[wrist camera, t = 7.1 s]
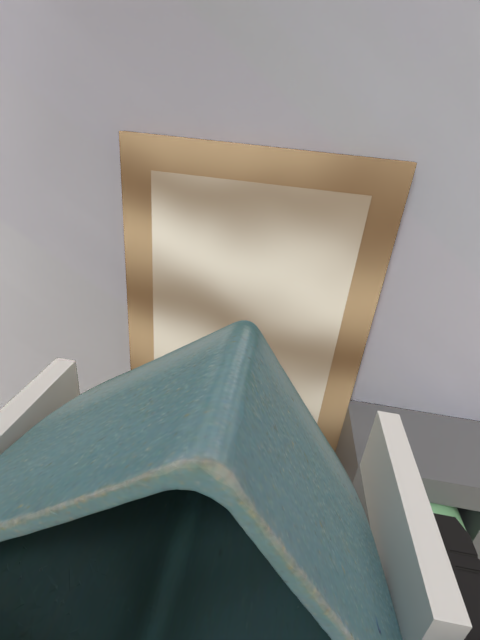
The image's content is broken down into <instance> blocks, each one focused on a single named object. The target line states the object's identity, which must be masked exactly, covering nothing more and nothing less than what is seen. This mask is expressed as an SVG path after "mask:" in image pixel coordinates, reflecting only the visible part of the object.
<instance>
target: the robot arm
mask: <svg viewBox="0 0 480 640" xmlns="http://www.w3.org/2000/svg"><path fill="white" fill-rule="evenodd" d="M79 395H80V392H79V384H78V376H77V368H76V361H74V360H68V359H62V358H56V359H55V360H54V361H53V362H52V363H51V364H50V365H49V366H48V367H46V368H45V369H44V370H43V371H42V372H41V373H40V374H39V375H38V376H37V377H36V378H34V379H33V380H32V381H31V382H30V383H29V384H28V385H27V386H26V387H25V388H24V389H22V390H21V391H20V392H19V393H18V394H17V395H16V396H15V397H14V398H13V399H12V400H10V401H9V402H8V403H7V404H6V405H5V406H4V407H3V408H2V409H1V410H0V455H1V454H2V453H3V452H4V451H5V450H6V449H7V448H9V447H10V446H11V445H12V444H13V443H14V442H16V441H17V440H18V439H19V438H20V437H22V436H23V435H24V434H25V433H26V432H27V431H29V430H30V429H31V428H32V427H33V426H35V425H36V424H37V423H38V422H40V421H41V420H42V419H44V418H45V417H47V416H48V415H49V414H51V413H52V412H54V411H55V410H57V409H58V408H60V407H61V406H63V405H64V404H66V403H67V402H69V401H70V400H72V399H74V398H76V397H77V396H79ZM360 470H361V476H362V481H363V487H364V493H365V499H366V505H367V510H368V516H369V522H370V528H371V531H372V534H373V538H374V541H375V544H376V548H377V551H378V554H379V558H380V561H381V564H382V568H383V571H384V574H385V578H386V581H387V585H388V589H389V592H390V596H391V599H392V603H393V606H394V610H395V613H396V617H397V621H398V624H399V628H400V632H401V636H402V639H403V640H480V559H478V554H477V552H476V549H475V547H474V544H473V542H472V540H471V537H470V535H469V534H468V533H467V531H466V530H465V529H464V527H463V526H462V525H461V524H460V522H459V521H458V520H457V519H456V517H452V516H446V515H441V514H436V513H433V511H432V508H431V505H430V502H429V499H428V497H427V494H426V491H425V488H424V485H423V482H422V479H421V476H420V473H419V470H418V467H417V465H416V462H415V459H414V456H413V453H412V450H411V447H410V444H409V441H408V438H407V435H406V433H405V430H404V427H403V424H402V421H401V418H400V415H399V414H395V413H388V412H382V411H377V414H376V417H375V420H374V423H373V426H372V429H371V432H370V435H369V438H368V441H367V444H366V448H365V451H364V454H363V457H362V460H361V463H360Z"/></svg>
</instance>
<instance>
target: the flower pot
mask: <svg viewBox="0 0 480 640" xmlns="http://www.w3.org/2000/svg"><path fill="white" fill-rule="evenodd" d="M0 640H403V639H402V636H401V632H400V628H399V624H398V621H397V617H396V613H395V610H394V606H393V603H392V599H391V596H390V592H389V589H388V585H387V581H386V578H385V574H384V571H383V568H382V564H381V561H380V558H379V554H378V551H377V548H376V544H375V541H374V538H373V534H372V531H371V528H370V526H369V523H368V520H367V517H366V514H365V511H364V509H363V506H362V504H361V502H360V500H359V497H358V495H357V493H356V490H355V488H354V486H353V484H352V482H351V480H350V478H349V476H348V474H347V472H346V471H345V469H344V467H343V465H342V464H341V462H340V460H339V458H338V457H337V455H336V453H335V452H334V450H333V449H332V447H331V446H330V444H329V442H328V441H327V439H326V438H325V436H324V434H323V433H322V431H321V429H320V428H319V426H318V424H317V423H316V421H315V420H314V418H313V416H312V415H311V413H310V412H309V410H308V408H307V407H306V405H305V403H304V402H303V400H302V399H301V397H300V395H299V394H298V392H297V390H296V389H295V387H294V386H293V384H292V382H291V381H290V379H289V377H288V376H287V374H286V372H285V371H284V369H283V368H282V366H281V365H280V363H279V361H278V360H277V358H276V356H275V354H274V353H273V351H272V349H271V348H270V346H269V344H268V343H267V341H266V339H265V338H264V336H263V334H262V333H261V331H260V330H259V328H258V327H257V326H256V325H255V324H254V323H252V322H250V321H247V320H241V321H237V322H234V323H232V324H230V325H228V326H226V327H223V328H221V329H219V330H217V331H215V332H213V333H211V334H209V335H206V336H204V337H202V338H200V339H198V340H196V341H194V342H191V343H189V344H187V345H185V346H183V347H181V348H179V349H176V350H174V351H172V352H170V353H168V354H166V355H164V356H161V357H159V358H157V359H155V360H152V361H150V362H148V363H146V364H144V365H142V366H139V367H137V368H135V369H133V370H131V371H129V372H126V373H124V374H122V375H119V376H117V377H115V378H112V379H110V380H108V381H106V382H104V383H102V384H100V385H98V386H96V387H94V388H92V389H90V390H88V391H86V392H84V393H83V394H81V395H79V396H77V397H76V398H74V399H72V400H70V401H69V402H67V403H66V404H64V405H63V406H61V407H60V408H58V409H57V410H55V411H54V412H52V413H51V414H49V415H48V416H47V417H45V418H44V419H42V420H41V421H40V422H38V423H37V424H36V425H35V426H33V427H32V428H31V429H30V430H29V431H27V432H26V433H25V434H24V435H23V436H22V437H20V438H19V439H18V440H17V441H16V442H14V443H13V444H12V445H11V446H10V447H9V448H7V449H6V450H5V451H4V452H3V453H2V454H1V455H0Z"/></svg>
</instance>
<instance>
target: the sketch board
mask: <svg viewBox="0 0 480 640" xmlns="http://www.w3.org/2000/svg"><path fill="white" fill-rule="evenodd" d="M119 142H120V163H121V183H122V203H123V223H124V243H125V263H126V284H127V304H128V324H129V344H130V364H131V370H133V369H135V368H137V367H139V366H142V365H144V364H146V363H148V362H150V361H152V360H155V359H157V358H159V357H161V356H164V355H166V354H168V353H170V352H172V351H174V350H176V349H179V348H181V347H183V346H185V345H187V344H189V343H191V342H194V341H196V340H198V339H200V338H202V337H204V336H206V335H209V334H211V333H213V332H215V331H217V330H219V329H221V328H223V327H226V326H228V325H230V324H232V323H234V322H237V321H241V320H247V321H250V322H252V323H254V324H255V325H256V326H257V327H258V328H259V330H260V331H261V333H262V334H263V336H264V338H265V339H266V341H267V343H268V344H269V346H270V348H271V349H272V351H273V353H274V354H275V356H276V358H277V360H278V361H279V363H280V365H281V366H282V368H283V369H284V371H285V372H286V374H287V376H288V377H289V379H290V381H291V382H292V384H293V386H294V387H295V389H296V390H297V392H298V394H299V395H300V397H301V399H302V400H303V402H304V403H305V405H306V407H307V408H308V410H309V412H310V413H311V415H312V416H313V418H314V420H315V421H316V423H317V424H318V426H319V428H320V429H321V431H322V433H323V434H324V436H325V438H326V439H327V441H328V442H329V444H330V446H331V447H332V449H333V450H334V452H335V451H336V448H337V444H338V441H339V437H340V434H341V430H342V427H343V423H344V420H345V416H346V412H347V409H348V405H349V402H350V398H351V395H352V391H353V388H354V384H355V381H356V377H357V374H358V370H359V366H360V363H361V359H362V356H363V352H364V349H365V345H366V342H367V338H368V335H369V331H370V328H371V324H372V320H373V317H374V313H375V310H376V306H377V303H378V299H379V296H380V292H381V289H382V285H383V282H384V278H385V274H386V271H387V267H388V264H389V260H390V257H391V253H392V250H393V246H394V243H395V239H396V236H397V232H398V228H399V225H400V221H401V218H402V214H403V211H404V207H405V204H406V200H407V197H408V193H409V190H410V186H411V182H412V179H413V175H414V172H415V168H416V165H417V163H415V162H409V161H400V160H391V159H381V158H372V157H363V156H353V155H344V154H335V153H325V152H316V151H307V150H297V149H288V148H279V147H269V146H260V145H250V144H241V143H232V142H222V141H213V140H204V139H194V138H185V137H176V136H166V135H157V134H148V133H138V132H129V131H119Z"/></svg>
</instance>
